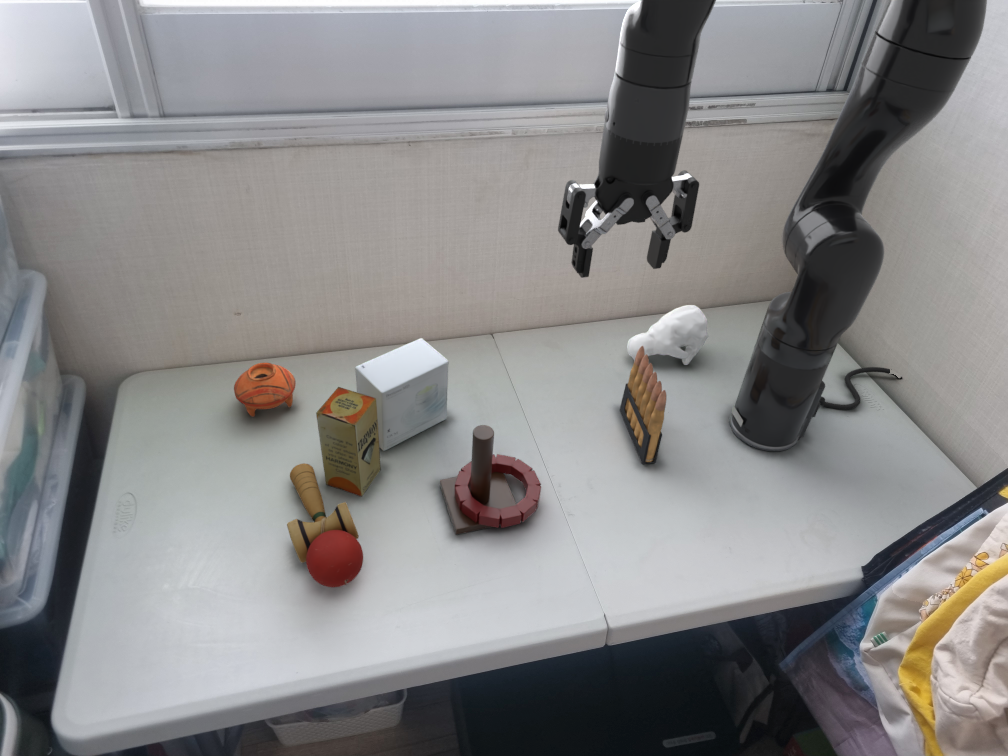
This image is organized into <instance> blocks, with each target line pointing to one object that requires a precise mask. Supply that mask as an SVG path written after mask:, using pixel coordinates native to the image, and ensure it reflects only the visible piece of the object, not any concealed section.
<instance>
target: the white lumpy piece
mask: <svg viewBox="0 0 1008 756" xmlns="http://www.w3.org/2000/svg"><path fill="white" fill-rule="evenodd" d="M708 324H709V322H708V319H707V317H706V314H705V313H704V312H703V311H702V309H701V308H700V307H699V306H697V305H695V304H685V305H682V306H679V307H676V308H674V309H672V310H670V311H669V312H667V313H666V314H664V315H663V316H661V317H660V318H659V319H658V321H657V322H655V323H652V324H651V326H650V327H649V329H648V331H646V332H641V333H637V334H636V335H633V336H631V337H630V338H629V339H628V341H627V344H626V351H627V354H628V355H629V356H630V357H632V359H633V362H634V361H635V357H636V354H637V352H638V350H639V349H640V347H641V346H643V347H644V352H645V355H646V354H647V355H648V357H650V356H655V355H660V356H670V357H672V358H676V359H680V360H681V362H682V364H683V365H684V366H688V365H689V364H690V363H691V361H692V360H693V359H694V358H695V357H696V356H697V354H698V352H700V350H701V348H703V347H704V346H705V343H706V341H707V340H708V338H709V333H708ZM684 347H685V349H684V350H683V349H682V348H684ZM645 355H644V356H645Z"/></svg>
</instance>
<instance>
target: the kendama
mask: <svg viewBox="0 0 1008 756" xmlns="http://www.w3.org/2000/svg"><path fill="white" fill-rule="evenodd" d="M289 479H290V482H291V483H292V485H293V486H294V488H295V490H296V492H297V494H298V496H299V499H300V500H301V503H302V505H303V507H304V508H305V510H306V513H307V514H308V516H309V517H310V518H311V520H312V521H310V522H309V521H303V520H300V519H298V518H295V519H293V520H290V521H287V523H286V528H287V531H288V534H289V537H290V540H291V542H292V546H293V548H294V550H295V554H296V555H297V558H298V560H299V561H300V563H301V564H304V563H305V564H306V568H307V571H308V573H309V575H310V576H311V578H312V579H313V580H314V581H315V582H316V583H318V584H319V585H320V586H321V585H322V586H324V587H327V588H340V587H344V586H347V585H348V584H350V583H352V581H354V579H355V578H357V576H358V575H360V574H359V573H360V572H361V571H362V567H363V563H364V551H363V548H362V546H361V543H360V542H359V539H360V534H359V532H358V529H357V527H356V524H355V522H354V518H353V517H352V514H351V512H350V509H349V506H348V504H347V502H346V501H344V502H341V503H338V504H337V505H336V507H335V508H334V510H333V511H332V512H331V514H330V515H328V516H327V515H326V508H325V504H324V500H323V496H322V493H321V489H320V487H319V483H318V480H317V476H316V472H315V469H314V467H313V466H312V465H311V464H309V463H299V464H297V465H295V466H294V467H292V469H291V471H290V472H289Z"/></svg>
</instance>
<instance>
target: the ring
mask: <svg viewBox="0 0 1008 756" xmlns="http://www.w3.org/2000/svg"><path fill="white" fill-rule="evenodd" d="M493 472H499V473H504V475H505V474H506V475H511V476H512V477H513V478H515V479H516V480H518V481H519V482H520V483H521V484H522V485H523V488H524V490H525V497H523V498H522V499H521V500H519V501H518V502H516V505H515V506H510V507H506V508H501V509H498V508H493V507H488V506H484V505H482V504H481V503H480V502H478V501H477V500H476V499H474V498H473V497H472V495H471V492H470V490H469V488H470V484H471V461H469V462H468V463H467V464H465V465H464V466H463V467H461V468H460V470H459V471H458V474H457V476H456V477H457V479H456V482H455V498H456V501H457V503H458V506H459V509H460V510H462V513H464V514H465V515H466V516H468V517H469V518H470V519H472V520H473V521H474V522H476V523H477V522H478V521H479V524H481V525H486V526H491V527H490V528H497V529H499V528H501V529H503V528H509V527H511V526H517V525H520V524H522V523H524V522H525V521H526V520H527V519H528V518H530V517H531V516H532V515H533V514H534V513H536V510H538V507H539V502H540V498H541V492H542V486H541V485H542V484H541V481H540V479H539V477H538V475H537V473H536V471H535V470H533V467H532V466H530V465H528V464H527V463H525V462H524V461H522V460H521V459H519V458H516V457H514V456H509V455H505V454H498V453H497V454H496V455H495V454H494V453H493V458H492V472H491V473H493ZM521 522H522V523H521ZM499 525H500V526H499Z"/></svg>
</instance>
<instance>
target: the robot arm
mask: <svg viewBox="0 0 1008 756" xmlns="http://www.w3.org/2000/svg"><path fill="white" fill-rule="evenodd" d="M716 1H717V0H640V1H638V2H636V3H634V4H632V5H631V6H630V7H629V8H628V9H627V11H626V13H625V15H624V18H623V20H622V24H621V28H620V35H619V42H618V47H617V48H618V49H617V54H616V61H615V62H616V63H615V70H614V74H613V78H612V81H611V85H610V88H609V92H608V97H607V102H606V109H605V111H604V123H603V130H602V138H601V144H600V151H599V158H598V174H597V177H596V178H595V180H594V182H593V183H587V184H583V183H582V184H579V183H578V182H577V181H576V180H574V179H570V180H568V181H567V182H566V184H565V186H564V193H563V197H562V198H563V199H562V203H561V209H560V214H559V221H558V226H557V232H558V234H559V235H560V236H561V238H562V239H563V241H564V242H565V243H566V244H567V245H568V246H573V247H572V256H571V262H570V263H571V267H572V268H573V269H574V270H575V272H576V274H578V275H579V277H580V278H583V279H585V278H589V276H590V271H591V265H592V259H593V251H594V248H593V245H594V244H595V243H596V241H597V240H598V239H599V238H600V237H601V236H602V235H606V234H608V232H609V231H610V230H611V229H612V228H613V227H614V226H615V225H617V226H621V225H627V224H629V223H638V224H639V223H646V221H647V220H648V219H650V220H651V222H652V224H653V225H654V227H655V230H652V231H651V234H650V240H649V245H648V250H647V254H646V261H647V263H648V264H649V266H650V267H651V268H652V269H653V270H656V269H658V270H659V269H661V268H662V265H663V264H664V263H665V262H666V261H667V259H668V254H669V250H670V246H671V241H672V239H673V238H674V237H675V236H676V234H678V233H681V232H682V233H684V234H685V233H688V232H690V231H691V229H692V227H693V221H694V215H695V211H696V206H697V200H698V194H699V189H700V181H699V180H697V179H696V178H695V177H694V175H692V174H691V173H690V172H689V171H688V170H681V171H679V173H678V174H677V175H676V176H674V174H675V173H676V169H677V164H678V159H679V155H680V151H681V145H682V140H683V137H684V131H685V127H686V123H687V119H688V113H689V107H690V102H691V101H690V99H691V88H692V82H693V81H692V80H693V76H694V72H695V67H696V63H697V59H698V54H699V48H700V43H701V36H702V32H703V30H704V28H705V26H706V24H707V22H708V20H709V17H710V15H711V13H712V12H713V9H714V6H715V4H716ZM887 2H888V3H887V5H886V7H885V9H884V11H883V13H882V15H881V17H880V20H879V21H878V23H877V26H876V28H875V31H874V32H873V35H872V37H871V39H870V42H869V44H868V47H867V48H866V51H865V53H864V56H863V58H862V60H861V62H860V65H859V68H858V71H857V73H856V76H855V78H854V81H853V83H852V86H851V89H850V91H849V93H848V95H847V98H846V100H845V102H844V104H843V106H842V108H841V111H840V113H839V115H838V117H837V119H836V122H835V124H834V126H833V129H832V130H831V133H830V136H829V139H828V141H827V143H826V145H825V148H824V149H823V152H822V154H821V156H820V157H819V160H818V161H817V163H816V165H815V167H814V168H813V170H812V172H811V174H810V176H809V178H808V180H807V181H806V183H805V185H804V186H803V188H802V190H801V192H800V194H798V196H797V199H796V201H795V202H794V204H793V206H792V208H791V210H790V212H789V214H788V216H787V217H786V220H785V222H784V225H783V228H782V233H781V247H782V250H783V253H784V256H785V257H786V259H787V260H788V262H789V264H790V266H791V267H792V269H793V270H794V271H795V273H796V274H797V276H796V279H795V281H794V283H793V286H792V289H791V291H786V292H781V293H780V294H777V295H776V296H775V297H773V298H772V299H771V301H770V302H769V304H768V306H767V309H766V312H765V316H764V318H763V320H762V324H761V326H760V328H759V329H760V330H759V332H758V336H757V339H756V341H755V345H754V347H753V350H752V354H751V356H750V359H749V362H748V365H747V368H746V371H745V374H744V377H743V380H742V383H741V385H740V388H739V392H738V394H737V397H736V399H735V403H734V405H733V406H732V408H731V412H730V414H729V415H730V416H729V426H730V428H731V430H732V432H733V433H734V435H735V436H736V437H737V438H738V439H740V441H742V442H744V443H745V444H747V445H749V446H751V447H752V448H755V449H758V450H762V451H767V452H783V451H786V450H789V449H791V448H792V447H794V446H795V445H796V444H797V442H798V440H799V439H801V438H804V437H805V435H806V432H807V430H808V428H809V425H810V424H811V421H812V418H816V416H817V413H818V412H819V409H820V407H824V408H828V409H833V410H840V411H841V410H842V411H847V410H853V409H856V408H858V407H859V405H860V404H861V396H860V394H859V392H858V390H857V389H856V388H855V386H854V385H853V383H852V381H851V378H852V377H854V376H857V375H861V374H864V373H884V374H888V375H890V376H893V377H895V378H896V379H897V380H900V379H899V378H898V377H897V376H896V375H894V374H889V373H890V369H891V368H886V367H879V366H868V367H861V368H856V369H853V370H851V371H849V372H848V373H846V375H845V376H844V383H845V385H846V387H847V388H848V390H849V392H850V393H851V395H852V396H853V398H854V402H852V403H848V404H839V403H832V402H828V401H826V398H825V397H823V396H822V395H823V393H824V390H825V388H826V383H825V382H824V377H825V374H826V373H827V370H828V367H829V365H830V362H831V360H832V358H833V355H834V353H835V351H836V349H837V346H838V344H839V342H840V340H841V338H842V335H843V334H844V333H846V331H847V330H848V329H849V328H850V327H851V326H852V325H853V324H854V323H855V321H856V320H857V318H858V316H859V315H860V313H861V311H862V309H863V307H864V305H865V303H866V301H867V299H868V297H869V295H870V293H871V291H872V290H873V287H874V285H875V283H876V281H877V279H878V277H879V275H880V272H881V269H882V267H883V264H884V263H883V262H884V258H885V245H884V242H883V239H882V237H881V236H880V235H879V233H877V231H876V230H875V228H874V227H872V225H871V224H870V223H869V221H867V219H866V218H865V217H864V216H863V211H864V208H865V205H866V203H867V199H868V197H869V195H870V193H871V191H872V189H873V186H874V185H875V182H876V180H877V179H878V176H879V175H880V173H881V172H882V169H883V167H884V166H885V165H886V164H887V162H888V161H889V159H891V157H893V155H894V154H895V153H896V152H897V151H899V149H900V148H902V147H903V146H904V145H906V144H907V143H908V142H909V141H911V139H912V138H914V137H915V136H916V135H917V134H919V133H920V132H921V131H922V130H923V129H924V128H925V127H926V126H928V125H929V124H930V123H931V122H932V121H933V120H934V119H935V118H936V117H937V116H938V115H939V114H940V113H941V112H942V110H943V109H944V107H946V105H947V103H948V102H949V100H950V99H951V97H952V96H953V94H954V92H955V90H956V88H957V86H958V84H959V82H960V81H961V78H962V76H963V75H964V73H965V71H966V69H967V67H968V65H969V63H970V61H971V59H972V57H973V55H974V54H975V51H976V50H977V47H978V45H979V43H980V40H981V37H982V33H983V30H984V26H985V20H986V13H987V5H988V0H888V1H887ZM672 193H673V195H674V196H673V197H674V198H673V202H672V210H671V215H670V217H669V216H668V215H667V213H666V212H665V210H664V208H663V207H662V204H663V203H664V202H665V201H666V200H667V198H668V197H669V196H670V195H671V194H672ZM593 198H594V199H595V201H594V202H593V203H592V204H591V205H590V207H589V202H590V201H591V199H593ZM588 207H589V208H588ZM586 208H588V209H587V210H586V211H585V216H584V218H583V219H582V217H583V213H584V209H586ZM602 213H603V214H604V215H605V216H603V218H601V214H602Z"/></svg>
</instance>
